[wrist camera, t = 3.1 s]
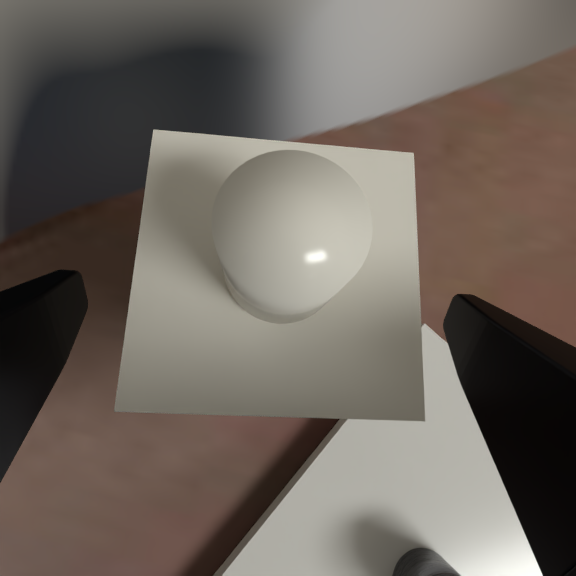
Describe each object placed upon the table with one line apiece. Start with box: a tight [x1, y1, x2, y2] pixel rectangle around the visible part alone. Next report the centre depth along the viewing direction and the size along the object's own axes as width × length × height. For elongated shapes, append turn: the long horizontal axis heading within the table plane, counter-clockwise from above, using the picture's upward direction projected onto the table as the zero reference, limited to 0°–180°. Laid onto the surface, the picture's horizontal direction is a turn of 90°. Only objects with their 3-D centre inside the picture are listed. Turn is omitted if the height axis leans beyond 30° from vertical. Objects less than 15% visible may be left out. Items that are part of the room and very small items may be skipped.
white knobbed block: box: [114, 130, 425, 421], centre depth 11 cm, size 5×5×12 cm
